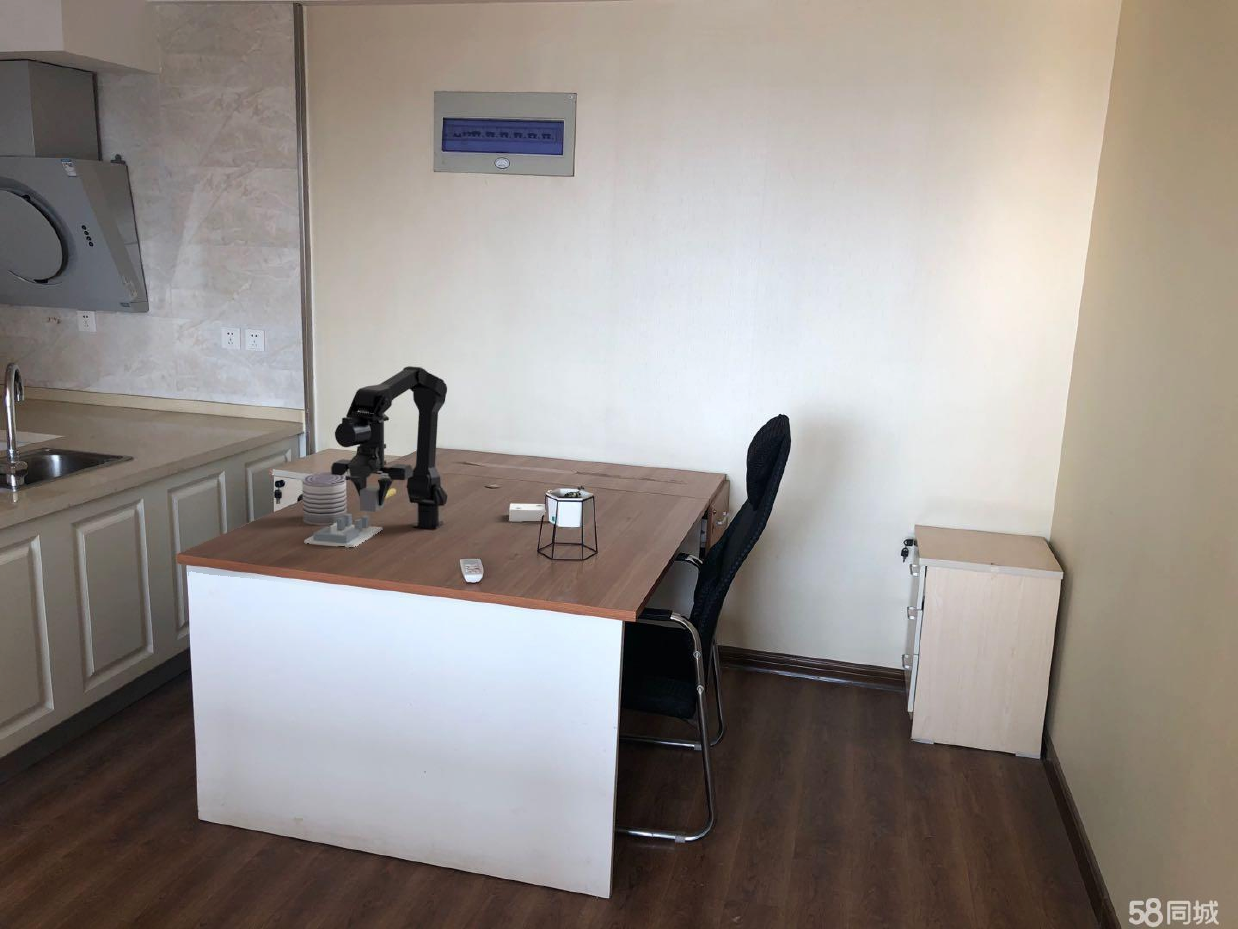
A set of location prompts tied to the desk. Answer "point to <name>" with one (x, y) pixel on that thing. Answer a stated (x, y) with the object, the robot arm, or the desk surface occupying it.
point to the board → (344, 532)
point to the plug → (372, 498)
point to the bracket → (526, 512)
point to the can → (324, 498)
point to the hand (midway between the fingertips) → (372, 504)
